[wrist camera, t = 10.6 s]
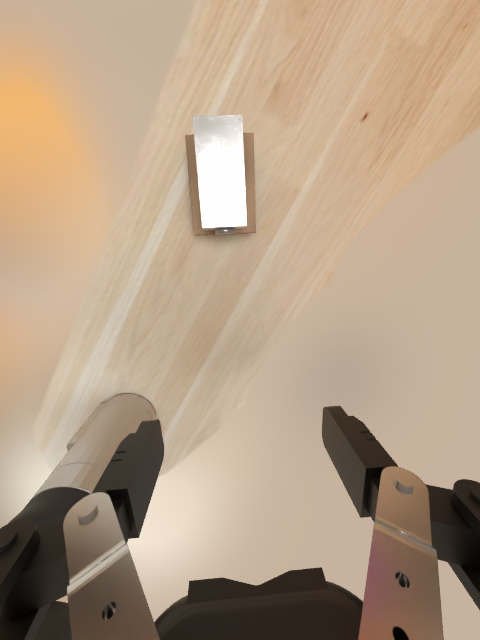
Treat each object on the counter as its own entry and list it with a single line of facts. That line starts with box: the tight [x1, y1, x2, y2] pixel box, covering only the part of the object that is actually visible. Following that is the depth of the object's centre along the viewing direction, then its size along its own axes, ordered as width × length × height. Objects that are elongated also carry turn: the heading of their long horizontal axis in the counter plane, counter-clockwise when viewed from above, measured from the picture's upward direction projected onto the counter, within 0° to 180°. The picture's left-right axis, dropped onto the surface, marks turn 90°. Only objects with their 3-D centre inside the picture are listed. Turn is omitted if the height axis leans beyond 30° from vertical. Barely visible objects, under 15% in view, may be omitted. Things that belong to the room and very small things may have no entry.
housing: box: [192, 115, 247, 234], centre depth 27 cm, size 11×5×6 cm, turn 3°
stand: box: [185, 133, 256, 235], centre depth 32 cm, size 8×11×4 cm
